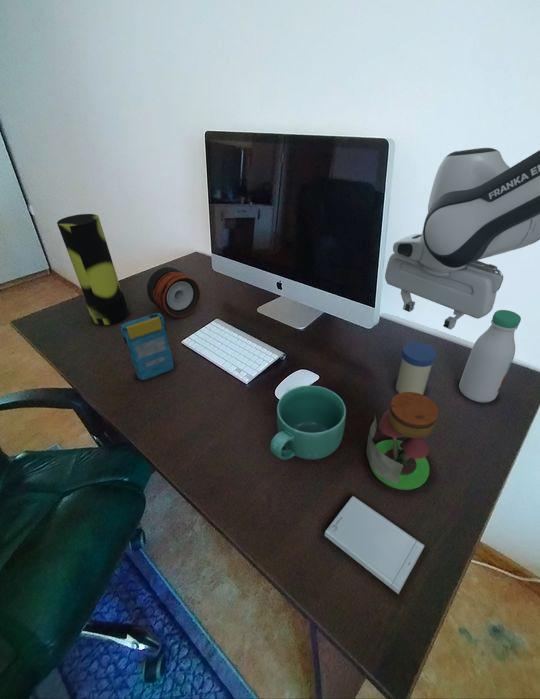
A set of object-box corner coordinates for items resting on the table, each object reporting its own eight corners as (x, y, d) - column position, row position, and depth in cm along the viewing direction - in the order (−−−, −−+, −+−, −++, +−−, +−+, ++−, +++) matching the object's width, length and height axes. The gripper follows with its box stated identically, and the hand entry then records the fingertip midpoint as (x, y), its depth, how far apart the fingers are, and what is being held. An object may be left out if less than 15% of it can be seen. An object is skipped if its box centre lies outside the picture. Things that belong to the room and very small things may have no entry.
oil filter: (167, 324, 110) (158, 284, 103) (148, 309, 118) (138, 272, 110) (203, 308, 117) (197, 270, 109) (183, 295, 125) (176, 259, 117)
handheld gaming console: (172, 361, 96) (160, 311, 87) (178, 369, 93) (166, 318, 84) (135, 374, 92) (118, 324, 83) (140, 384, 89) (123, 332, 80)
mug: (309, 409, 80) (310, 375, 75) (355, 442, 72) (360, 408, 67) (249, 451, 72) (246, 417, 66) (294, 494, 64) (294, 460, 58)
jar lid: (441, 364, 76) (443, 358, 76) (410, 369, 76) (412, 362, 75) (424, 345, 82) (426, 339, 81) (395, 349, 81) (397, 343, 80)
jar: (429, 395, 82) (440, 359, 76) (403, 400, 81) (412, 363, 75) (415, 378, 87) (425, 342, 81) (391, 381, 86) (398, 346, 80)
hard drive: (324, 531, 57) (399, 590, 50) (353, 494, 62) (425, 543, 55) (324, 536, 58) (397, 595, 51) (352, 500, 63) (423, 549, 56)
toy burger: (402, 429, 75) (417, 372, 66) (445, 480, 65) (470, 421, 56) (350, 446, 72) (358, 389, 63) (388, 502, 62) (404, 444, 53)
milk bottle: (487, 409, 78) (522, 330, 67) (451, 391, 83) (478, 315, 71) (501, 391, 82) (537, 314, 71) (467, 375, 87) (495, 301, 75)
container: (85, 319, 114) (48, 221, 97) (116, 305, 121) (85, 211, 103) (105, 330, 109) (69, 228, 91) (136, 314, 116) (107, 217, 98)
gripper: (515, 263, 60) (488, 333, 68) (405, 233, 73) (393, 295, 81) (498, 275, 57) (471, 347, 65) (386, 241, 70) (376, 305, 78)
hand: (427, 318), depth 73 cm, fingers open, 7 cm apart
